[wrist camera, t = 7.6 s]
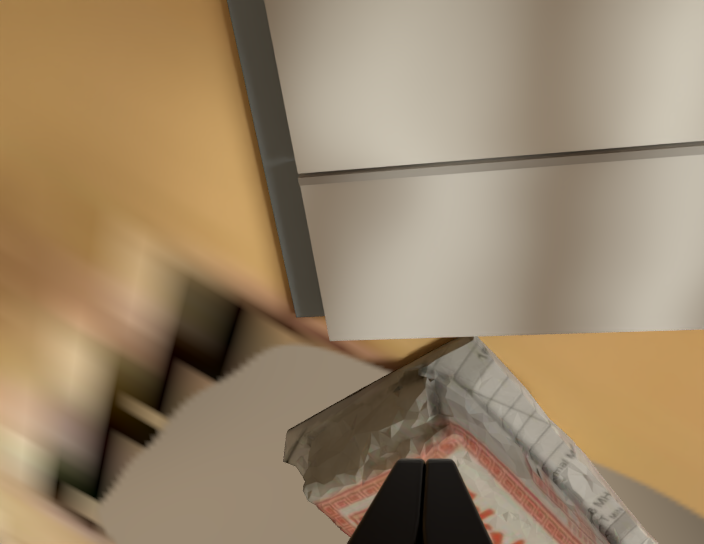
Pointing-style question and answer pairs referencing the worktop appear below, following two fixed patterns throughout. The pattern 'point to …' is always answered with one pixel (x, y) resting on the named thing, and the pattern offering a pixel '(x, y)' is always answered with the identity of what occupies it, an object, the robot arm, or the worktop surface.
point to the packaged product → (461, 451)
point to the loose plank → (484, 77)
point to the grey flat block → (512, 244)
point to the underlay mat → (276, 151)
